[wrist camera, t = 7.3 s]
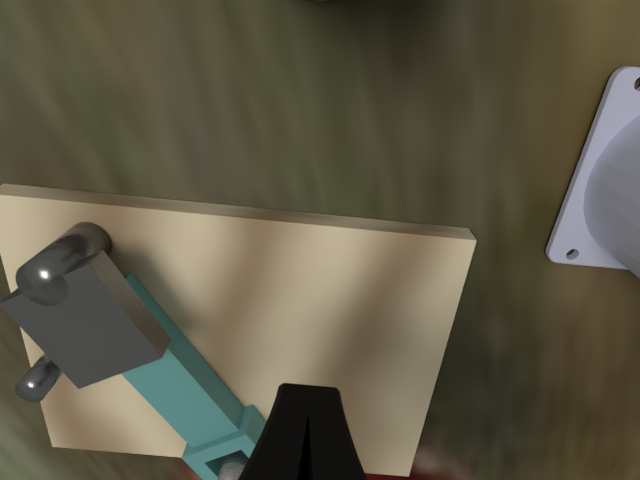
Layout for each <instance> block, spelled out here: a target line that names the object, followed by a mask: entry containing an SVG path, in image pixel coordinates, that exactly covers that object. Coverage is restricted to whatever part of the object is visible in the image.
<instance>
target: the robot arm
mask: <svg viewBox="0 0 640 480" xmlns="http://www.w3.org/2000/svg"><path fill="white" fill-rule="evenodd" d="M639 77H640V67H631V66H625V67H621V68H619V69H617V70H616V71H615V72H614V73H613V74H612V75H611V77H610V78H609V81H608V83H607V86H606V89H605V91H604V94H603V97H602V99H601V102H600V105H599V107H598V110H597V113H596V116H595V118H594V121H593V124H592V126H591V129H590V132H589V134H588V137H587V140H586V142H585V145H584V148H583V151H582V153H581V156H580V159H579V161H578V164H577V167H576V169H575V172H574V175H573V177H572V180H571V183H570V185H569V188H568V191H567V194H566V196H565V199H564V202H563V204H562V207H561V210H560V212H559V215H558V218H557V220H556V223H555V226H554V228H553V231H552V234H551V237H550V239H549V242H548V245H547V247H546V255H547V257H548V258H549V259H550V260H551V261H552V262H555V263H564V264H574V265H585V266H595V267H606V268H616V269H627V270H630V271H631V272H632V273H634V274H635V275H636V276H637V277H638V278H640V87H638V88H637V89H635V88H634V83H635V81H636V80H637V78H639ZM571 249H574V251H573V253H572V254H570V255H566V254H567V252H568V251H569V250H571ZM238 480H367V478H366V475H365V473H364V470H363V467H362V465H361V462H360V460H359V457H358V454H357V451H356V449H355V446H354V443H353V440H352V437H351V433H350V430H349V427H348V424H347V420H346V417H345V413H344V409H343V405H342V400H341V394H340V391H339V390H338V389H337V388H336V387H326V386H315V385H303V384H292V383H283V384H281V385H280V386H279V387H278V391H277V395H276V398H275V401H274V404H273V407H272V410H271V412H270V415H269V417H268V419H267V422H266V424H265V426H264V429H263V431H262V433H261V435H260V437H259V439H258V441H257V443H256V445H255V447H254V449H253V451H252V453H251V456H250V458H249V460H248V462H247V464H246V465H245V467H244V469H243V471H242V473H241V475H240V476H239V478H238Z"/></svg>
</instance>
